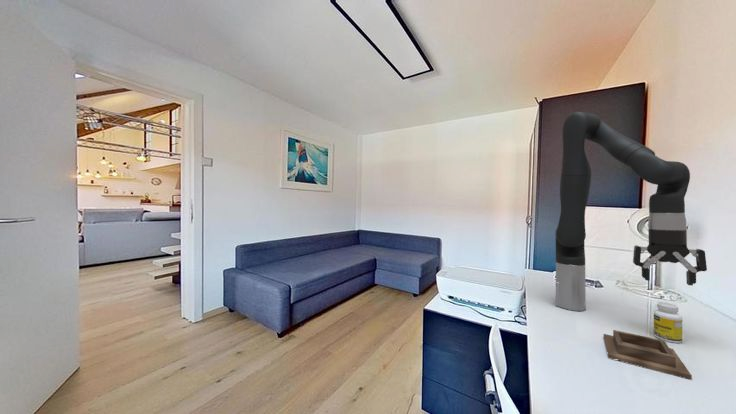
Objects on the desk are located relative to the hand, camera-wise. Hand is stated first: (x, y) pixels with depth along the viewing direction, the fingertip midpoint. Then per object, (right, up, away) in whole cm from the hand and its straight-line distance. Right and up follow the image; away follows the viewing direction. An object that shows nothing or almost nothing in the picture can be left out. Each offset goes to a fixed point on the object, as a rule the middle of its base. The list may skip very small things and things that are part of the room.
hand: (667, 282), depth 78 cm
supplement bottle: (0, -17, 0) cm, 17 cm away
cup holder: (-17, -17, -8) cm, 25 cm away
